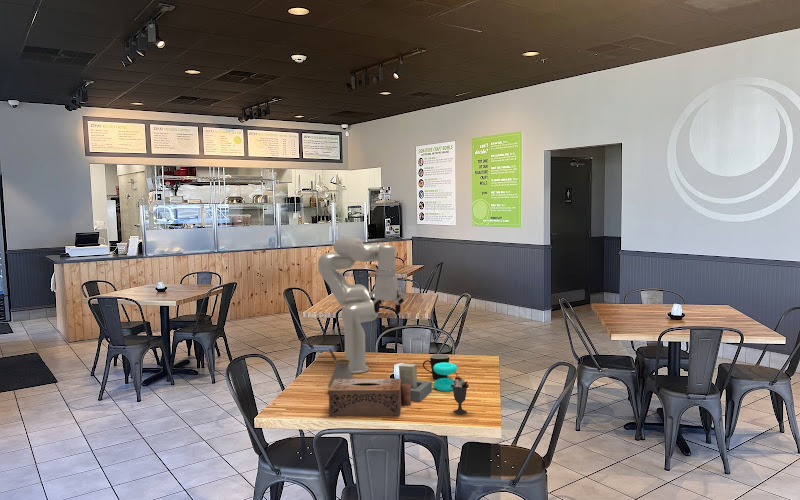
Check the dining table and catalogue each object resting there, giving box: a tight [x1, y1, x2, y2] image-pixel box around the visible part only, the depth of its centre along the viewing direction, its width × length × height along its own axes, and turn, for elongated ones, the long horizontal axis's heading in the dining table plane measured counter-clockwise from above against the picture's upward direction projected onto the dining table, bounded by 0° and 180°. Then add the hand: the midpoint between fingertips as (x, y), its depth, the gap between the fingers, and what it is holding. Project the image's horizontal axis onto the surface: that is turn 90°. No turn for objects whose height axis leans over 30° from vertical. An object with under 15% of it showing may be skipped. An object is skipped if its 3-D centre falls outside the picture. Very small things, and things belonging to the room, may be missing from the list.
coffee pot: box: [326, 348, 355, 390], centre depth 248 cm, size 21×12×15 cm, turn 26°
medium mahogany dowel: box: [401, 384, 412, 407], centre depth 227 cm, size 4×4×8 cm
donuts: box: [432, 362, 458, 392], centre depth 247 cm, size 10×10×10 cm
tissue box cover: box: [328, 378, 402, 418], centre depth 221 cm, size 26×14×10 cm, turn 88°
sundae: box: [451, 371, 470, 415], centre depth 217 cm, size 7×7×15 cm
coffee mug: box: [422, 353, 450, 381], centre depth 261 cm, size 12×9×10 cm
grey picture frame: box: [411, 379, 433, 403], centre depth 239 cm, size 14×14×4 cm
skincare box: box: [398, 362, 418, 389], centre depth 239 cm, size 6×4×12 cm
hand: (387, 313), depth 255 cm, fingers open, 9 cm apart
